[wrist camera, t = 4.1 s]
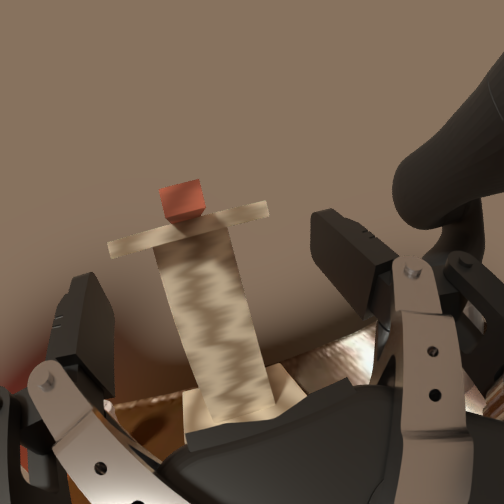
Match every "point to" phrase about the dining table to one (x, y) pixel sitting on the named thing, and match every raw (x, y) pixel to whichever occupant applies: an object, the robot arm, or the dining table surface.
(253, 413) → the beech pedestal
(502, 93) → the robot arm
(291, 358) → the dining table surface
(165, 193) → the lacquered bar
